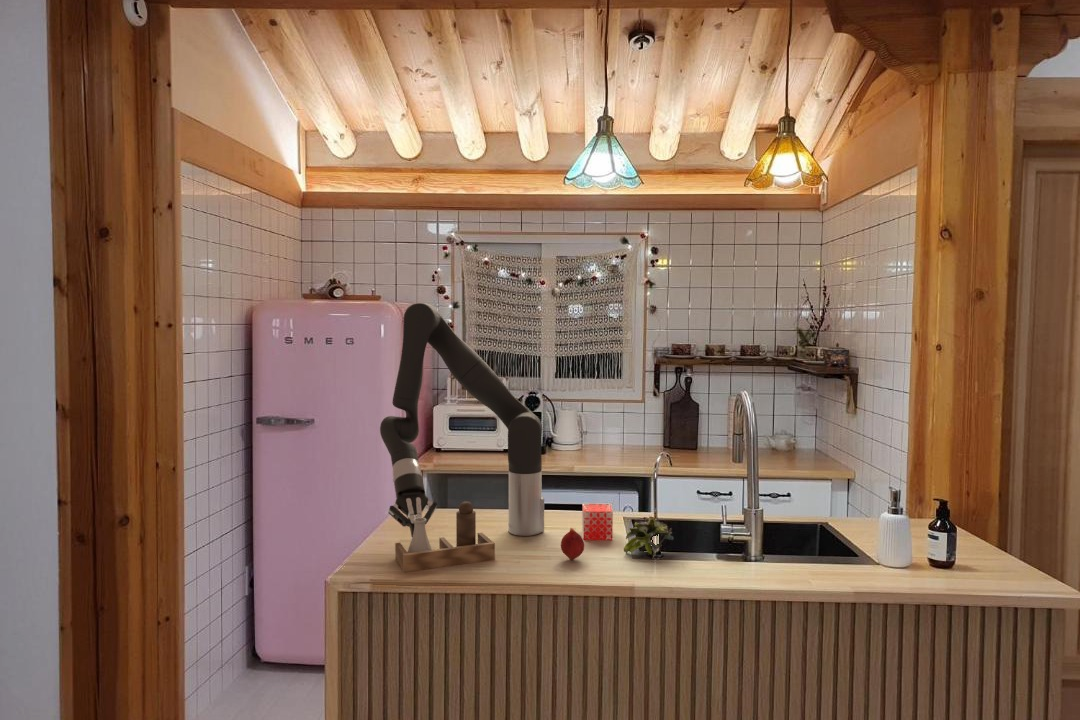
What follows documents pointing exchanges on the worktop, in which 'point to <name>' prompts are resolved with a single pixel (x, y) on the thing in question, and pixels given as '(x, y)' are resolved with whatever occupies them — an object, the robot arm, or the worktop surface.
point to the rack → (445, 554)
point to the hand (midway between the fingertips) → (418, 538)
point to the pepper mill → (465, 525)
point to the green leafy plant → (647, 535)
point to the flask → (419, 537)
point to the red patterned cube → (597, 522)
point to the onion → (572, 544)
